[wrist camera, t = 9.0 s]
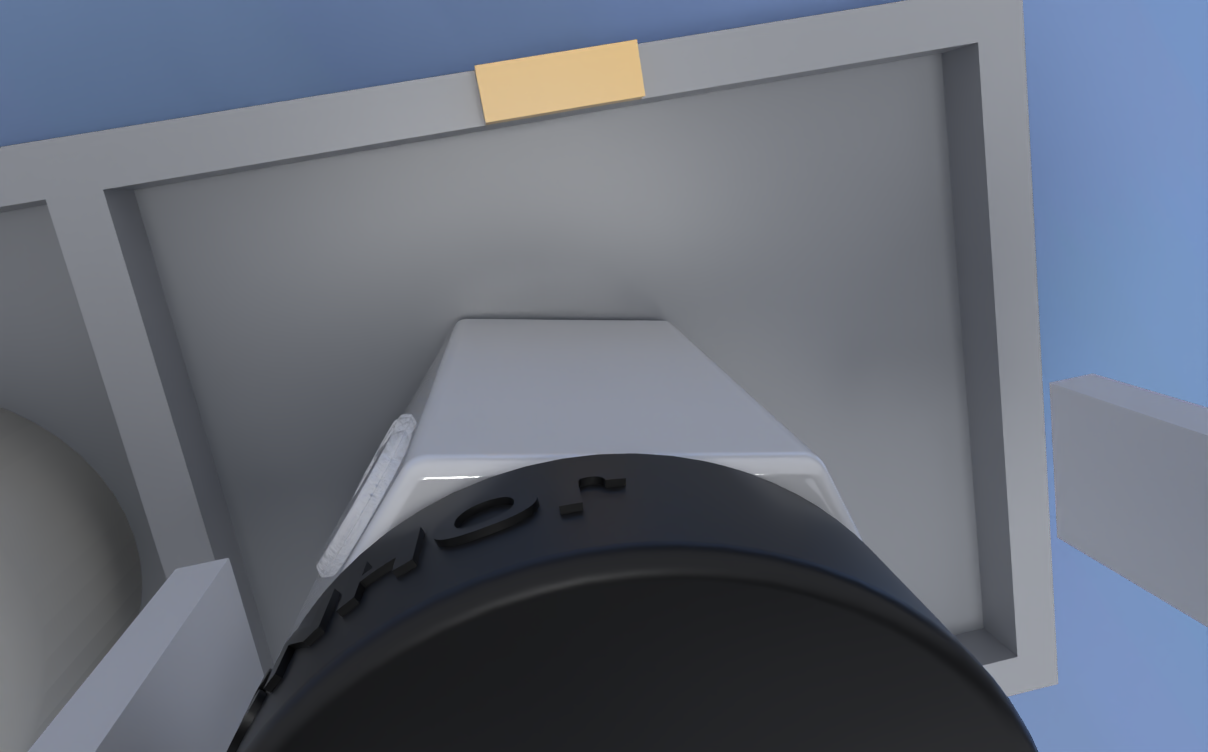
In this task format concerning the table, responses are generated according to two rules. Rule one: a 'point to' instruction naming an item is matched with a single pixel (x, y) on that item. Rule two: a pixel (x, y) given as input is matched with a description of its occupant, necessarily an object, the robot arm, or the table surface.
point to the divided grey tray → (564, 286)
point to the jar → (609, 575)
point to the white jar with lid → (56, 577)
